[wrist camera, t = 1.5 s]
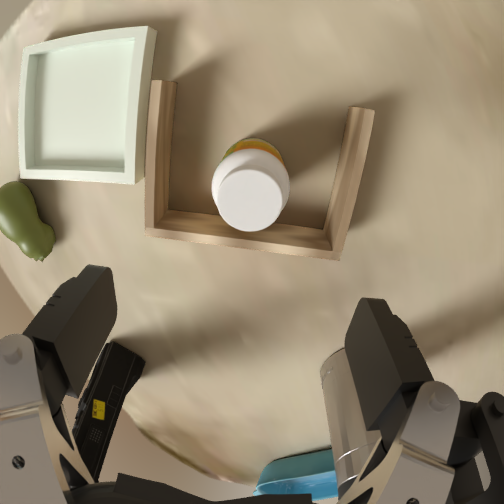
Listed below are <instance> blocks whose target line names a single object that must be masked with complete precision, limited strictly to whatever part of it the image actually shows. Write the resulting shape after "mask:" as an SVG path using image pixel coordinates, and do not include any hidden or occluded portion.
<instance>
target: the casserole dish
mask: <svg viewBox="0 0 504 504" xmlns="http://www.w3.org/2000/svg"><path fill="white" fill-rule="evenodd" d="M306 493H312V501H316V500H322V499H328V498H333V497H338V488H337V481H336V473H335V466H334V459H333V452H332V449H329V450H323V451H318V452H313V453H308V454H303V455H298V456H293V457H288V458H283V459H279V460H275V461H273V462H271V463H270V464H268V465H267V466H266V467H265V468H264V470H263V471H262V473H261V476H260V478H259V481H258V484H257V486H256V491H254V492H253V494H254V495H255V496H257V495H262V494H306Z"/></svg>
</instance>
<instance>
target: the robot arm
mask: <svg viewBox="0 0 504 504" xmlns="http://www.w3.org/2000/svg"><path fill="white" fill-rule="evenodd" d="M116 317H117V302H116V296H115V289H114V282H113V274H112V271H111V269H110V268H109V267H103V266H96V265H90V264H89V265H87V266H86V267H85V268H84V269H83V270H82V272H81V273H80V274H79V275H78V276H77V278H75V277H73V278H71V279H69V280H68V281H66V282H65V283H63V284H61V285H60V286H59V288H58V289H57V290H56V291H55V292H54V294H53V297H50V299H49V300H48V301H47V302H46V305H44V306H43V307H42V309H41V310H40V311H39V312H38V314H37V315H36V316H35V318H34V319H33V320H32V322H31V323H30V324H29V325H28V327H27V328H26V330H25V331H24V332H23V334H12V335H8V336H5V337H3V338H2V339H0V504H316V503H312V493H306V494H262V495H257V496H252V497H247V498H240V499H234V500H226V501H217V502H214V501H208V500H205V499H203V498H200V497H197V496H195V495H192V494H189V493H187V492H184V491H181V490H179V489H176V488H174V487H172V486H169V485H167V484H164V483H160V482H155V481H150V480H146V479H142V478H137V477H133V476H129V475H126V474H122V473H118V477H117V481H116V482H100V483H94V481H93V479H92V477H91V475H90V473H89V471H88V469H87V467H86V466H85V464H84V462H83V460H82V458H81V456H80V454H79V451H78V449H77V446H76V443H75V440H74V437H73V435H72V432H71V429H70V425H69V422H68V419H67V416H66V412H65V410H64V406H63V404H62V401H63V398H64V396H65V395H68V396H71V397H74V398H77V399H78V398H79V395H80V393H81V391H82V389H83V387H84V385H85V382H86V380H87V378H88V376H89V374H90V372H91V370H92V368H93V366H94V364H95V361H96V359H97V357H98V355H99V353H100V351H101V349H102V347H103V345H104V343H105V341H106V339H107V338H108V336H109V334H110V332H111V330H112V328H113V326H114V324H115V321H116ZM412 337H413V336H412V334H411V332H410V330H409V329H408V327H407V325H406V324H405V323H404V322H403V321H402V320H401V319H400V318H399V317H398V316H397V315H393V314H392V312H391V310H390V308H389V306H388V304H387V302H386V301H385V300H384V299H375V298H361V299H360V301H359V303H358V305H357V308H356V310H355V313H354V315H353V318H352V320H351V323H350V325H349V328H348V330H347V333H346V337H345V349H342V350H340V351H338V352H336V353H335V354H333V355H332V356H331V357H329V358H328V359H327V360H326V361H325V362H324V364H323V366H322V368H321V372H320V373H321V381H322V389H323V393H324V400H325V406H326V412H327V418H328V425H329V431H330V438H331V445H332V452H333V459H334V466H335V473H336V481H337V488H338V500H339V501H338V502H337V504H504V396H502V395H501V394H499V393H496V392H488V393H486V394H485V395H484V396H483V397H482V398H481V399H480V401H479V402H478V403H473V402H467V401H461V400H459V398H458V396H457V394H456V393H455V391H454V390H453V389H452V388H451V387H449V386H448V385H446V384H444V383H442V382H439V381H434V379H433V376H432V374H431V372H430V370H429V368H428V366H427V364H426V362H425V360H424V358H423V356H422V354H421V352H420V350H419V348H417V344H416V342H415V340H414V339H412ZM481 451H483V453H484V456H485V459H486V462H487V466H488V469H489V472H490V476H491V482H490V485H489V487H488V489H487V490H486V491H485V492H484V490H483V486H482V482H481V479H480V475H479V471H478V468H477V465H476V462H475V458H474V457H475V456H477V455H478V454H479V453H480V452H481Z"/></svg>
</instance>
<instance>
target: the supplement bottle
mask: <svg viewBox="0 0 504 504" xmlns="http://www.w3.org/2000/svg"><path fill="white" fill-rule="evenodd" d="M289 193H290V181H289V176H288V173H287V170H286V168H285V165H284V163H283V160H282V157H281V155H280V153H279V152H278V150H277V149H276V148H275V147H274V146H273V145H272V144H270V143H268V142H267V141H264V140H262V139H257V138H249V139H244V140H241V141H239V142H237V143H235V144H234V145H233V146H231V147H230V149H229V150H228V151H227V152H226V154H225V156H224V157H223V159H222V161H221V162H220V164H219V165H218V167H217V169H216V171H215V173H214V176H213V179H212V195H213V199H214V201H215V204H216V205H217V207H218V210H219V213H220V215H221V216H222V218H223V219H224V220H225V221H226V222H227V223H228V224H229V225H231V226H232V227H234V228H236V229H239V230H242V231H249V232H250V231H258V230H262V229H264V228H266V227H268V226H270V225H271V224H272V223H273V222H274V221H275V220H276V219H277V218H278V216H279V214H280V213H281V211H282V210H283V208H284V207H285V205H286V203H287V201H288V198H289Z"/></svg>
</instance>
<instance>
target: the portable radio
mask: <svg viewBox="0 0 504 504" xmlns="http://www.w3.org/2000/svg"><path fill="white" fill-rule="evenodd" d="M144 365H145V361H144V360H143V359H142V358H141V357H139V356H137V355H136V354H134V353H132V352H131V351H129V350H127V349H125V348H124V347H122V346H120V345H119V344H117V343H115V342H111V343H106V345H105V346H104V348H103V350H102V352H101V354H100V356H99V358H98V360H97V362H96V365H95V368H94V370H93V373H92V376H91V379H90V381H89V384H88V386H87V388H86V389H85V391H84V393H83V396H82V398H81V399H80V401H79V404H78V408H79V409H78V412H77V414H76V417H75V419H76V421H75V424H74V427H73V429H72V435H73V437H74V440H75V443H76V446H77V449H78V451H79V454H80V456H81V458H82V460H83V462H84V464H85V466H86V467H87V469H88V471H89V473H90V475H91V477H92V479H93V481H94V483H99V481H98V478H99V475H100V472H101V469H102V465H103V462H104V459H105V456H106V453H107V449H108V446H109V443H110V440H111V437H112V434H113V431H114V428H115V425H116V422H117V419H118V416H119V413H120V411H121V408H122V405H123V402H124V399H125V396H126V395H127V393H128V392H129V391H130V390H131V388H132V387H133V386H134V384H135V383H136V382H137V381H138V379H139V378H140V376H141V374H142V371H143V368H144Z"/></svg>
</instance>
